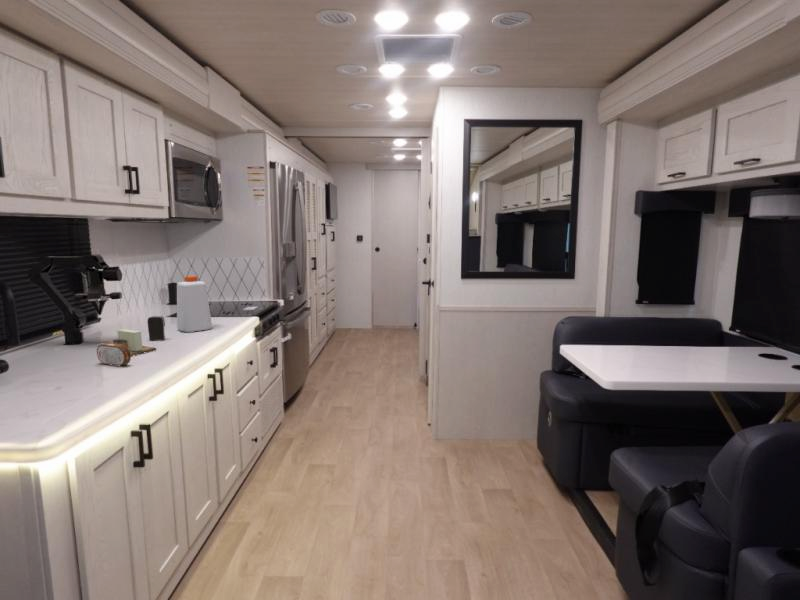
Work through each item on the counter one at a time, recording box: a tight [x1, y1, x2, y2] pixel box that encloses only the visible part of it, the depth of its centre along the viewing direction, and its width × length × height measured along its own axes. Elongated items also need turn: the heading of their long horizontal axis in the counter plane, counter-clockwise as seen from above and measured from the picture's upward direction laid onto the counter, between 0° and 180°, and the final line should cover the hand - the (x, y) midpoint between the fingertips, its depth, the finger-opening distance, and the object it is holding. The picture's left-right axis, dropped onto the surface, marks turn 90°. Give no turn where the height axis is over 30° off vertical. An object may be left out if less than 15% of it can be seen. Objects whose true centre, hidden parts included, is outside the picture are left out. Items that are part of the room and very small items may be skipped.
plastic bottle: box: [176, 275, 213, 333], centre depth 252 cm, size 15×15×28 cm
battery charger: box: [147, 315, 166, 341], centre depth 229 cm, size 7×4×11 cm, turn 99°
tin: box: [96, 342, 132, 366], centre depth 187 cm, size 15×3×8 cm, turn 71°
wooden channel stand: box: [112, 338, 157, 357], centre depth 207 cm, size 16×14×6 cm
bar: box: [117, 328, 143, 351], centre depth 206 cm, size 11×3×8 cm, turn 64°
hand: (99, 314), depth 224 cm, fingers closed
